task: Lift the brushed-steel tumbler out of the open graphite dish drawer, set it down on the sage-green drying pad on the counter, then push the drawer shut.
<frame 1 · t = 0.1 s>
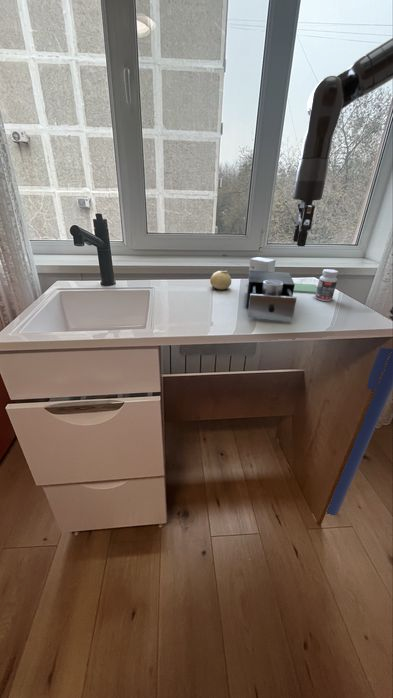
hand: (298, 243, 84), 20 cm above the worktop, tool pointing down, fingers open, 8 cm apart
drawer: (270, 300, 85), point 4 cm above the worktop, slide at 9.0 cm, touching steel tumbler
small box: (259, 287, 113), on the worktop
onion: (220, 288, 110), on the worktop
pill bottle: (323, 299, 101), on the worktop
steel tumbler: (269, 308, 86), point 2 cm above the worktop, touching drawer
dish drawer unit: (266, 302, 97), on the worktop
drying pad: (303, 288, 111), on the worktop
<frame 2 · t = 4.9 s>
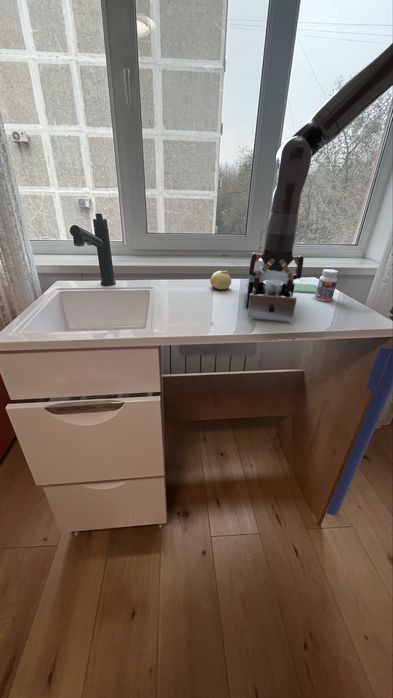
hand: (271, 291, 83), 7 cm above the worktop, tool pointing down, fingers open, 8 cm apart
drawer: (270, 301, 85), point 4 cm above the worktop, slide at 9.0 cm, touching gripper, steel tumbler
everything else where it was.
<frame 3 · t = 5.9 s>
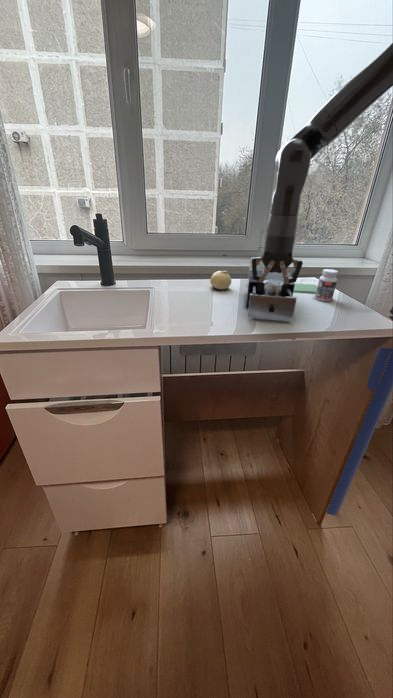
hand: (271, 294, 84), 6 cm above the worktop, tool pointing down, fingers closed on steel tumbler, 5 cm apart
drawer: (270, 301, 85), point 4 cm above the worktop, slide at 9.1 cm, touching steel tumbler
steel tumbler: (269, 308, 86), point 2 cm above the worktop, touching drawer, gripper
everything else where it was.
when the fingers open (5 cm above the worktop, at t = 15.2 s): steel tumbler stays where it is, resting on drying pad.
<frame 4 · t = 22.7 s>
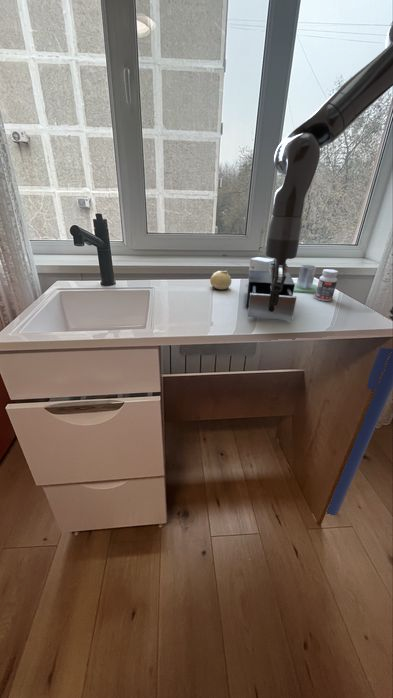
hand: (273, 304, 78), 6 cm above the worktop, tool pointing down, fingers closed
drawer: (270, 300, 85), point 4 cm above the worktop, slide at 8.5 cm, touching gripper
steel tumbler: (303, 287, 111), point 1 cm above the worktop, touching drying pad
everything else where it was.
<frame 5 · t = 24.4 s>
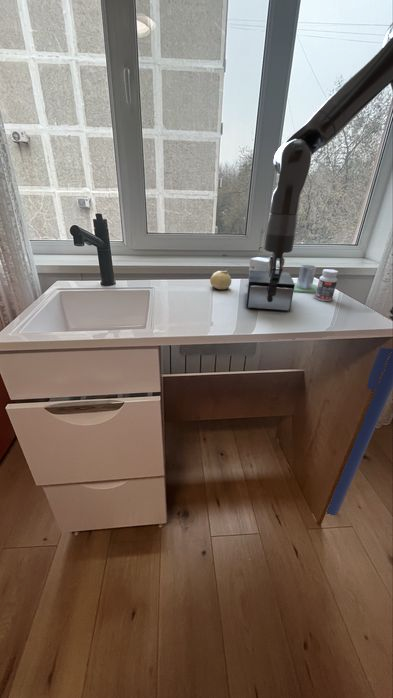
hand: (271, 294, 85), 6 cm above the worktop, tool pointing down, fingers closed
drawer: (268, 292, 92), point 4 cm above the worktop, slide at 0.5 cm, touching gripper
everything else where it was.
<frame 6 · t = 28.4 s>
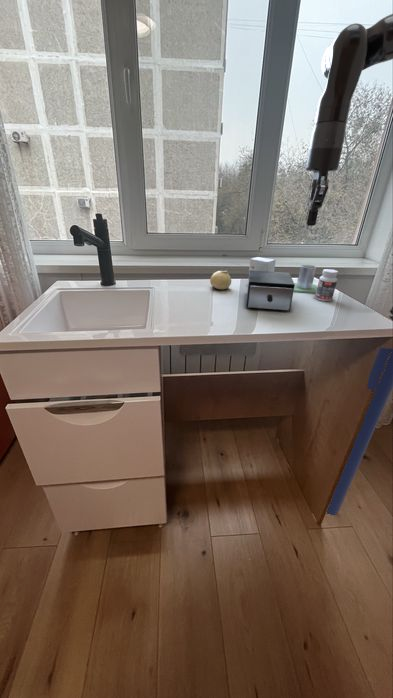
hand: (310, 225, 78), 25 cm above the worktop, tool pointing down, fingers closed
drawer: (268, 292, 92), point 4 cm above the worktop, slide at 0.4 cm
everything else where it was.
at the end: steel tumbler inside the target area on the drying pad (0.1 cm from its centre), point 0.6 cm above the drying pad's base; steel tumbler tilted 0°; drawer slide at 0.4 cm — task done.
